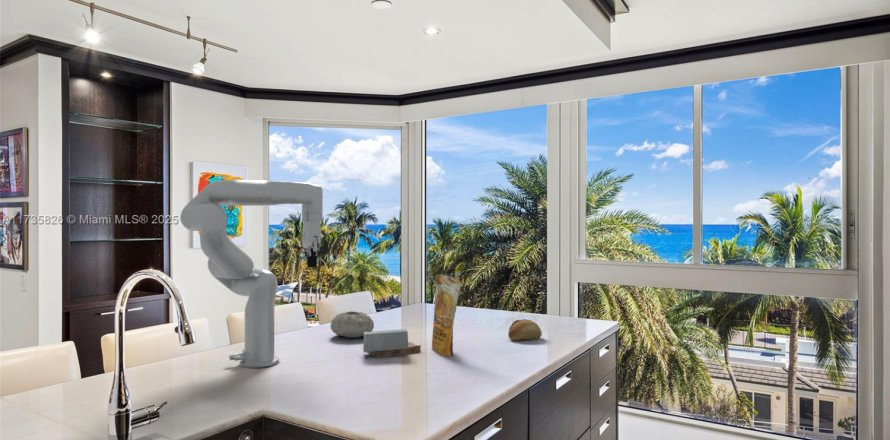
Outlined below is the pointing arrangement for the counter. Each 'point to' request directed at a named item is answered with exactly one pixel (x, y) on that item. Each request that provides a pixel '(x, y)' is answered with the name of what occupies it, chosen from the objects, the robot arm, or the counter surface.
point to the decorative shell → (352, 324)
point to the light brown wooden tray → (398, 351)
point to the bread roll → (524, 330)
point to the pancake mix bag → (445, 313)
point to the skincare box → (385, 340)
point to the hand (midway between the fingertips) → (312, 266)
